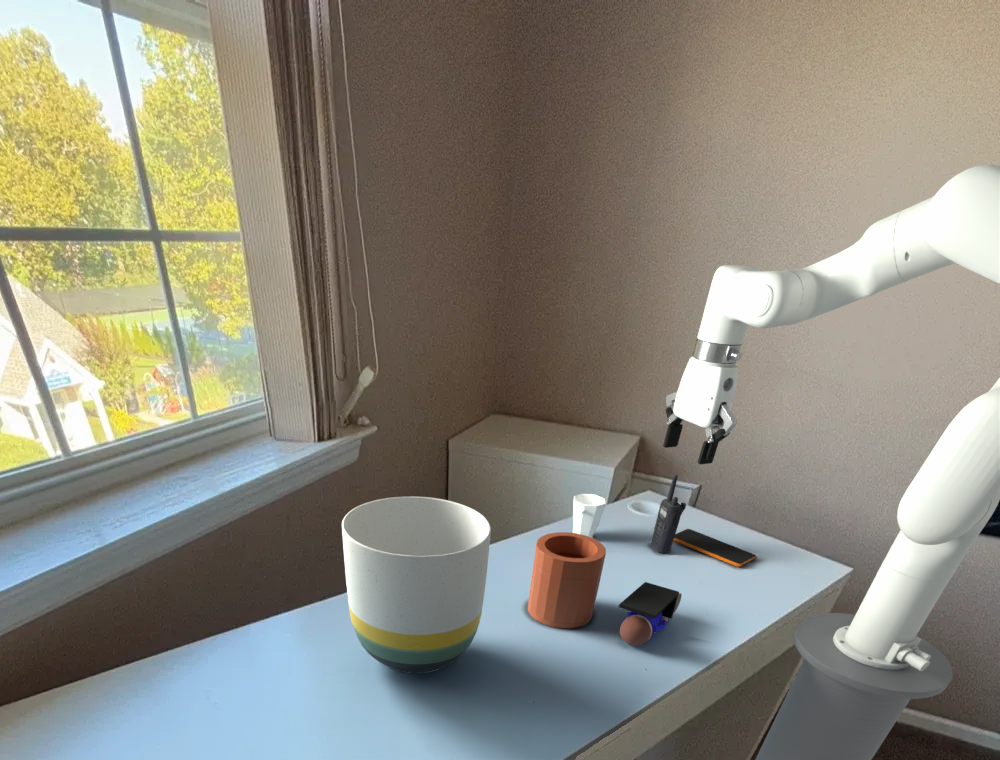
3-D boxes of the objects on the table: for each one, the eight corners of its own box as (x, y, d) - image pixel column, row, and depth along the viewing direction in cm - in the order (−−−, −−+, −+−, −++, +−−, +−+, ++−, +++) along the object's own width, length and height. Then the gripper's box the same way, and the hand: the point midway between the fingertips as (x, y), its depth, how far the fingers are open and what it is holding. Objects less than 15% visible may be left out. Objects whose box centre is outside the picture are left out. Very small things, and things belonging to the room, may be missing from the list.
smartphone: (739, 568, 127) (740, 564, 127) (668, 540, 136) (669, 536, 136) (757, 558, 131) (758, 554, 131) (687, 531, 140) (688, 527, 140)
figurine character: (638, 614, 114) (607, 641, 103) (650, 574, 110) (619, 598, 99) (674, 626, 111) (646, 656, 100) (687, 586, 107) (660, 612, 96)
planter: (431, 715, 87) (436, 572, 73) (323, 665, 94) (309, 527, 80) (502, 652, 100) (517, 520, 86) (402, 612, 107) (402, 486, 93)
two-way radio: (647, 543, 134) (665, 471, 125) (666, 543, 135) (686, 471, 126) (658, 555, 130) (678, 481, 121) (678, 554, 131) (699, 481, 121)
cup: (603, 535, 136) (611, 498, 131) (587, 551, 130) (594, 513, 124) (573, 527, 139) (580, 490, 134) (555, 543, 132) (561, 505, 127)
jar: (604, 621, 109) (619, 555, 101) (549, 633, 104) (561, 566, 97) (568, 591, 116) (579, 528, 108) (515, 602, 112) (523, 537, 104)
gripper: (769, 363, 105) (734, 468, 116) (697, 342, 117) (671, 439, 128) (736, 365, 103) (703, 472, 114) (666, 343, 114) (642, 442, 125)
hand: (686, 454), depth 121 cm, fingers open, 9 cm apart
